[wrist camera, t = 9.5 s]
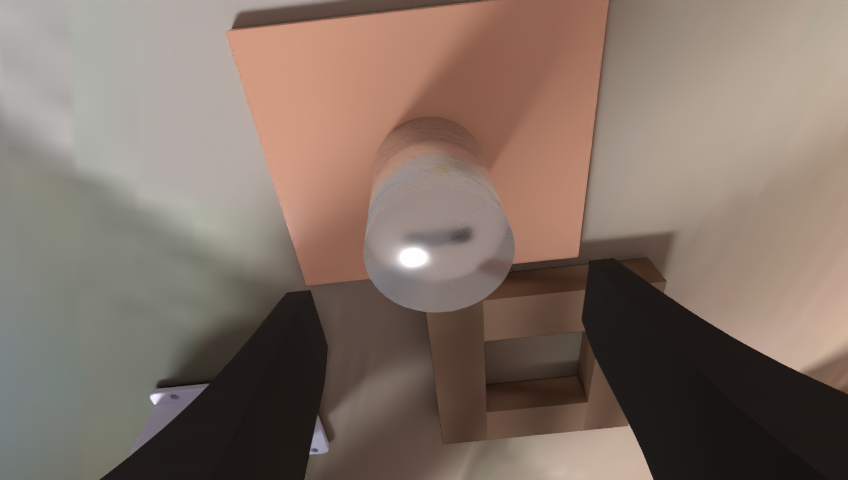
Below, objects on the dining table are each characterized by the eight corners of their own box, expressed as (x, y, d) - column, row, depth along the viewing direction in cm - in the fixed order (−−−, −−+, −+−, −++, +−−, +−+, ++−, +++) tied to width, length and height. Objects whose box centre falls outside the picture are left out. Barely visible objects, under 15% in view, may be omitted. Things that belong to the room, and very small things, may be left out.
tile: (308, 278, 23) (306, 285, 23) (230, 29, 16) (225, 31, 16) (574, 250, 23) (578, 257, 22) (604, -14, 16) (610, -13, 16)
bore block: (440, 416, 30) (442, 444, 28) (423, 281, 24) (425, 306, 22) (615, 399, 30) (627, 426, 28) (647, 258, 23) (666, 281, 22)
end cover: (388, 225, 21) (383, 322, 15) (361, 129, 18) (344, 205, 13) (488, 206, 20) (520, 299, 15) (476, 106, 18) (508, 174, 12)
